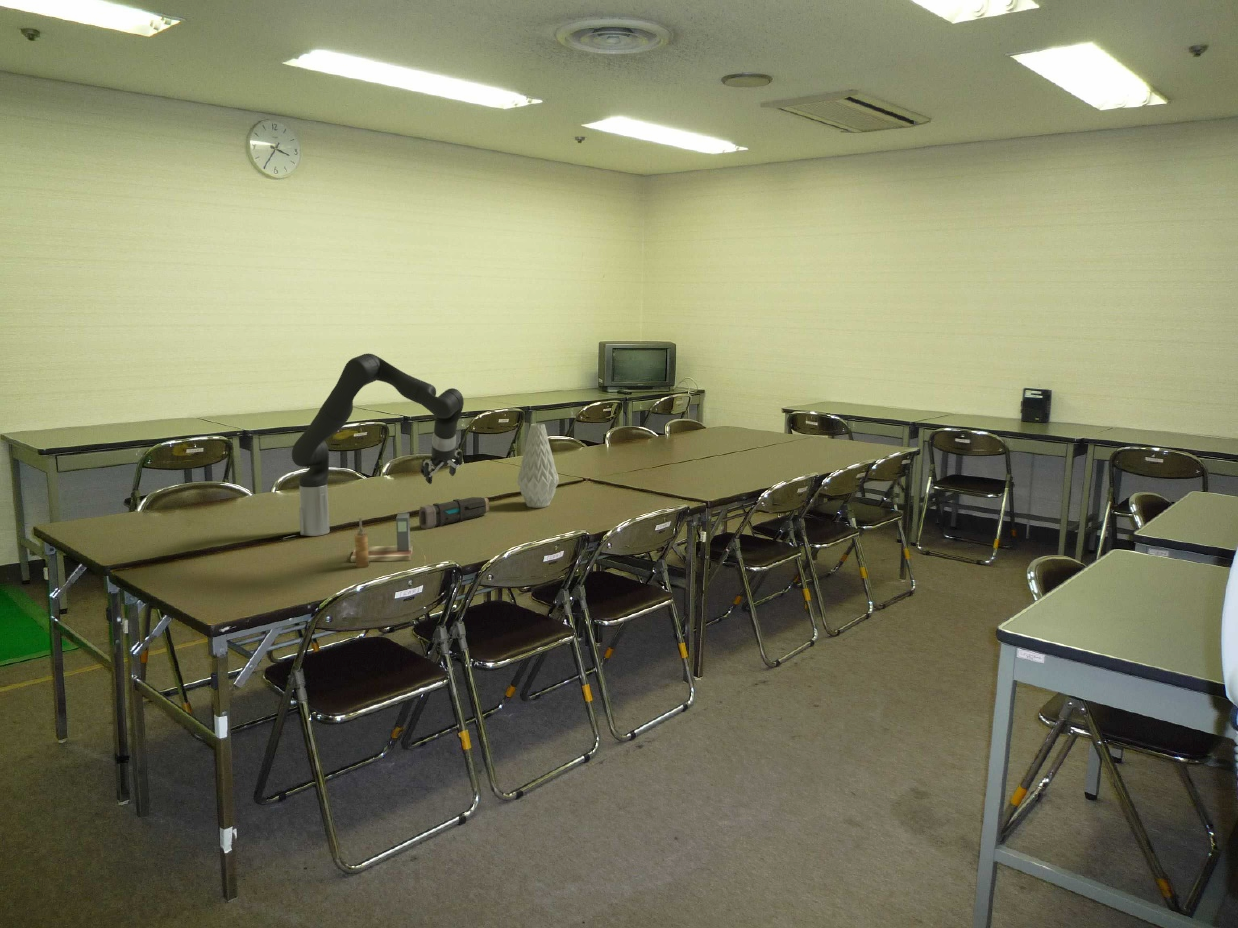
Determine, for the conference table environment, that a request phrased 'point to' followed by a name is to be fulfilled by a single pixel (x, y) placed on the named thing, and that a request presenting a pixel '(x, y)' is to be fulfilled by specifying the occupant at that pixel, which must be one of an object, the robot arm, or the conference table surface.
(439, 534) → the conference table surface
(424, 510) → the tube
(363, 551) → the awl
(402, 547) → the block
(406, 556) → the board
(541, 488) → the vase
